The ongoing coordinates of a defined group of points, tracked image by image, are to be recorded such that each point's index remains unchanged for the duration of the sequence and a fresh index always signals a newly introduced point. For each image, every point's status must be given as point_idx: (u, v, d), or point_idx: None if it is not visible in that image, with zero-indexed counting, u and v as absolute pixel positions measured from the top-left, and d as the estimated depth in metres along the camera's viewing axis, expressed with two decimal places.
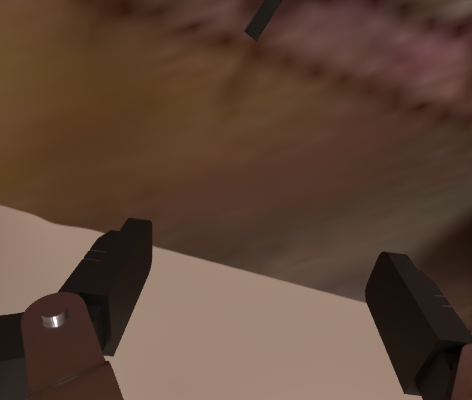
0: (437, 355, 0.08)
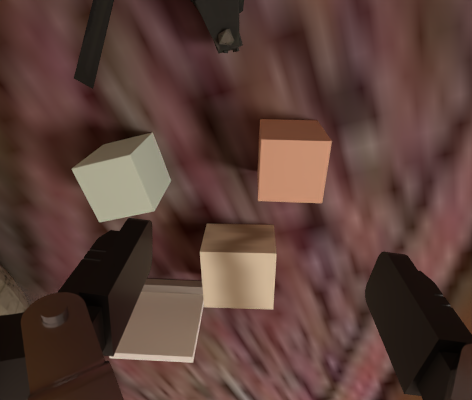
0: (438, 355, 0.08)
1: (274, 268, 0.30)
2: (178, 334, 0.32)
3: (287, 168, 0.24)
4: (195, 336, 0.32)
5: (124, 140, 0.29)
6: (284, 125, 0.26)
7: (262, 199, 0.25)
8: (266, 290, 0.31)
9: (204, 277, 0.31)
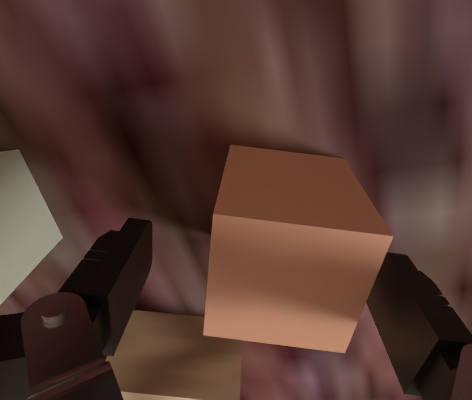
0: (438, 355, 0.08)
1: None
2: None
3: (274, 281, 0.10)
4: None
5: None
6: (277, 167, 0.12)
7: (212, 333, 0.11)
8: None
9: None
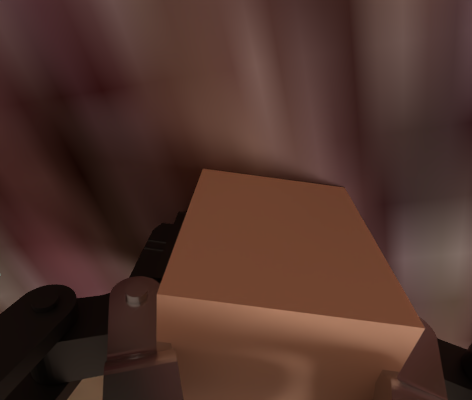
0: None
1: None
2: None
3: (251, 379, 0.07)
4: None
5: None
6: (260, 204, 0.09)
7: None
8: None
9: None
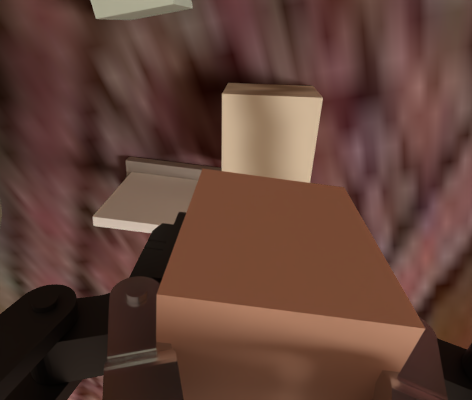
0: None
1: (317, 122, 0.23)
2: (184, 210, 0.25)
3: (251, 380, 0.07)
4: None
5: None
6: (260, 204, 0.09)
7: None
8: (303, 158, 0.24)
9: (225, 136, 0.24)
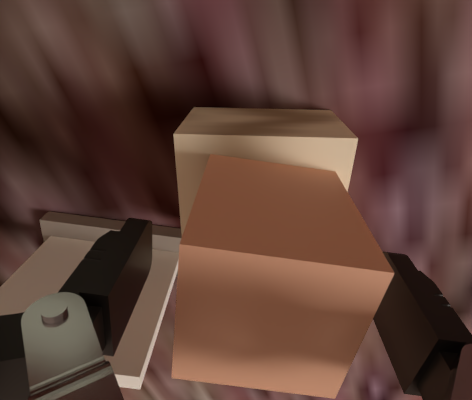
0: (437, 355, 0.08)
1: (347, 180, 0.13)
2: None
3: (254, 321, 0.08)
4: (153, 329, 0.15)
5: None
6: (261, 182, 0.11)
7: (183, 376, 0.10)
8: None
9: (185, 203, 0.14)
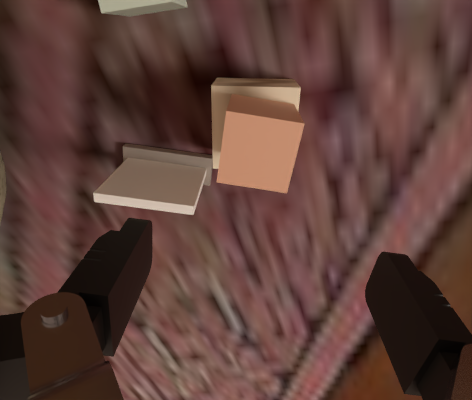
0: (437, 355, 0.08)
1: (297, 110, 0.26)
2: (177, 190, 0.28)
3: (252, 148, 0.21)
4: (197, 193, 0.27)
5: None
6: (256, 103, 0.24)
7: (221, 181, 0.22)
8: None
9: (215, 124, 0.27)
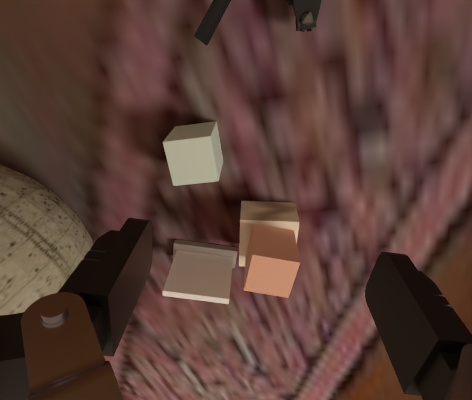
0: (438, 355, 0.08)
1: (297, 234, 0.39)
2: (216, 283, 0.40)
3: (267, 274, 0.34)
4: (229, 285, 0.40)
5: (194, 125, 0.37)
6: (269, 236, 0.36)
7: (247, 290, 0.35)
8: None
9: (241, 241, 0.39)
